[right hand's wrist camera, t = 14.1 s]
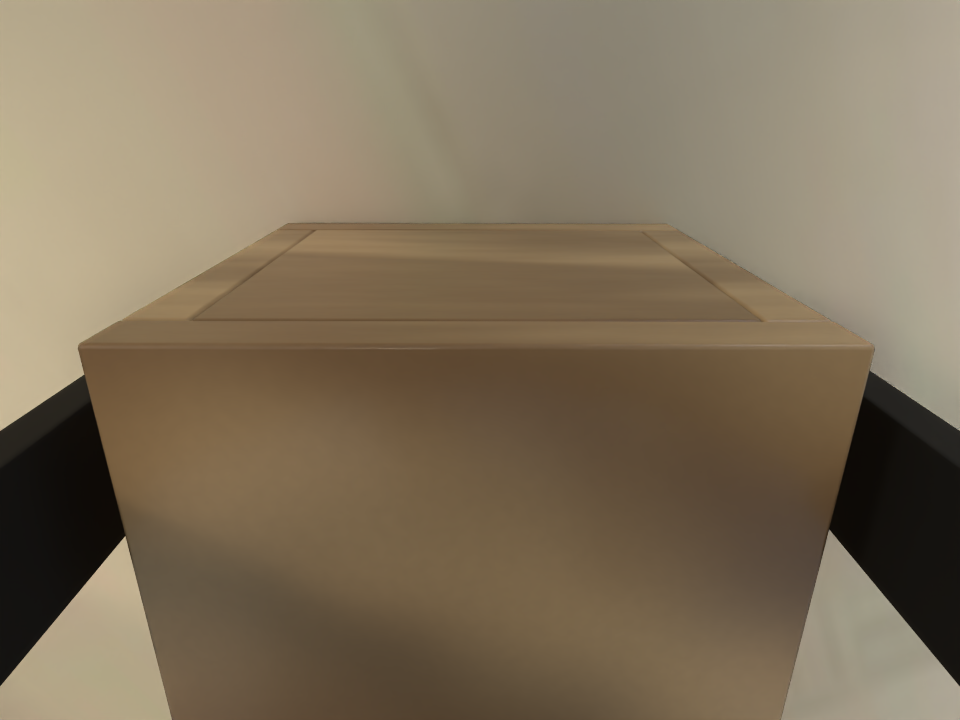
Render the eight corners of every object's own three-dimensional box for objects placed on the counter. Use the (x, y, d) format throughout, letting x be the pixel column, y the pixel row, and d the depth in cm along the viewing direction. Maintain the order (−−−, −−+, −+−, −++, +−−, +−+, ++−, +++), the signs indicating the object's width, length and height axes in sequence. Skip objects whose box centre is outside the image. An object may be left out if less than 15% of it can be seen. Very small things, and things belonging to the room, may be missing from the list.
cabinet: (618, 672, 23) (705, 1021, 14) (336, 672, 23) (247, 1022, 14) (669, 223, 17) (879, 345, 8) (286, 222, 17) (74, 343, 8)
